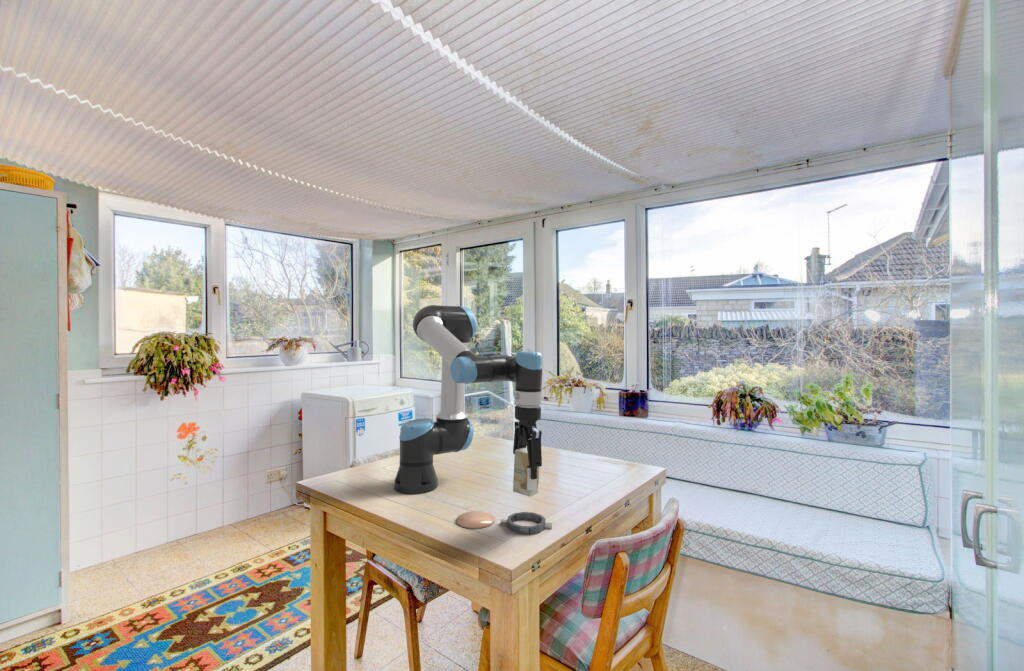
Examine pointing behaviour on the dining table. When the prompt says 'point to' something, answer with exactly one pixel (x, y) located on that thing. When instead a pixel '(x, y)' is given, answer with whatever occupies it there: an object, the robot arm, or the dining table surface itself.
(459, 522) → the peach dome button
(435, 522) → the dining table surface
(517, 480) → the skincare box
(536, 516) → the bayonet collar
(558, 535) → the dining table surface
